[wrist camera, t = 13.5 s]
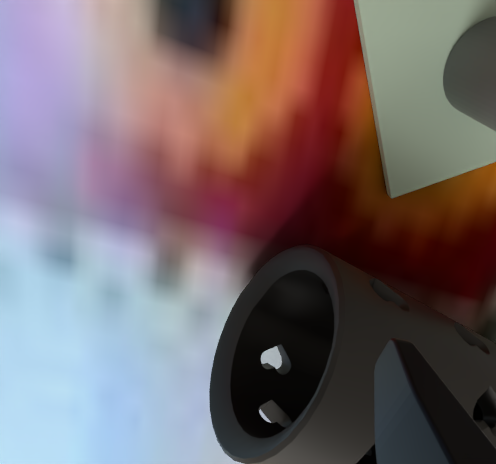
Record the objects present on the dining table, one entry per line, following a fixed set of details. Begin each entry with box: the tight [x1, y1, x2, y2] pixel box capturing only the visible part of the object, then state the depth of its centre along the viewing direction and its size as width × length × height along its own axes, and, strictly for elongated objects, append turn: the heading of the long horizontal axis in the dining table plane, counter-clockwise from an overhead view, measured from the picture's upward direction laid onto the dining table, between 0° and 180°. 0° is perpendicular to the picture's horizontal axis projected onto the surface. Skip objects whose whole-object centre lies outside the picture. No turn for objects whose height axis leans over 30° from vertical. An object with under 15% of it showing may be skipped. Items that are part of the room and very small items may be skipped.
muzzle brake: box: [209, 244, 496, 464], centre depth 24 cm, size 10×28×10 cm, turn 56°
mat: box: [354, 0, 496, 199], centre depth 19 cm, size 9×9×1 cm
